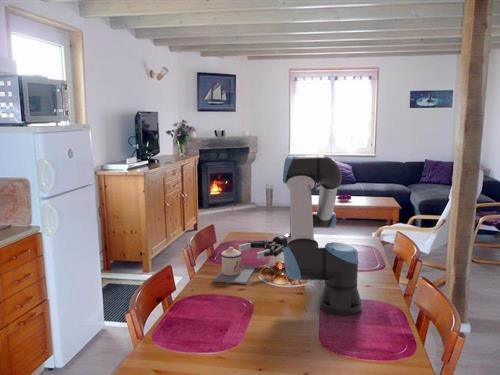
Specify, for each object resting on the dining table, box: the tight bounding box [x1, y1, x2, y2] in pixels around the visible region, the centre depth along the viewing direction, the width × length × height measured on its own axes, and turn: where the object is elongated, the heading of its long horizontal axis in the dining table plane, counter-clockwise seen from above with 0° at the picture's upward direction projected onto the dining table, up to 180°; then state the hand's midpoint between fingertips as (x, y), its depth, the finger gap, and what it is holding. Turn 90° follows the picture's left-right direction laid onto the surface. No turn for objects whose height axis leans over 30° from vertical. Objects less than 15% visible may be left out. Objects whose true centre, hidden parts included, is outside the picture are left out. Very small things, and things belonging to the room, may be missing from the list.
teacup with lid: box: [220, 246, 242, 276], centre depth 196 cm, size 12×9×12 cm
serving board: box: [213, 265, 257, 285], centre depth 195 cm, size 20×14×1 cm
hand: (248, 252), depth 198 cm, fingers open, 13 cm apart
